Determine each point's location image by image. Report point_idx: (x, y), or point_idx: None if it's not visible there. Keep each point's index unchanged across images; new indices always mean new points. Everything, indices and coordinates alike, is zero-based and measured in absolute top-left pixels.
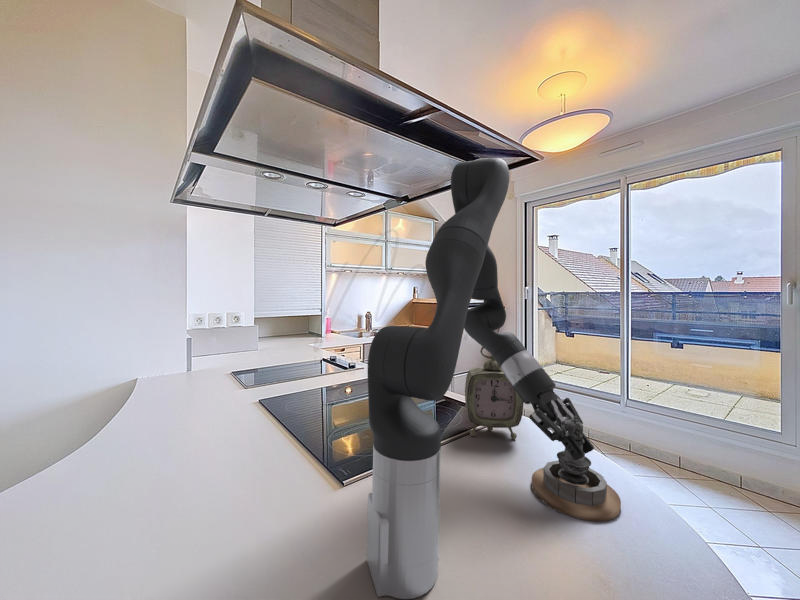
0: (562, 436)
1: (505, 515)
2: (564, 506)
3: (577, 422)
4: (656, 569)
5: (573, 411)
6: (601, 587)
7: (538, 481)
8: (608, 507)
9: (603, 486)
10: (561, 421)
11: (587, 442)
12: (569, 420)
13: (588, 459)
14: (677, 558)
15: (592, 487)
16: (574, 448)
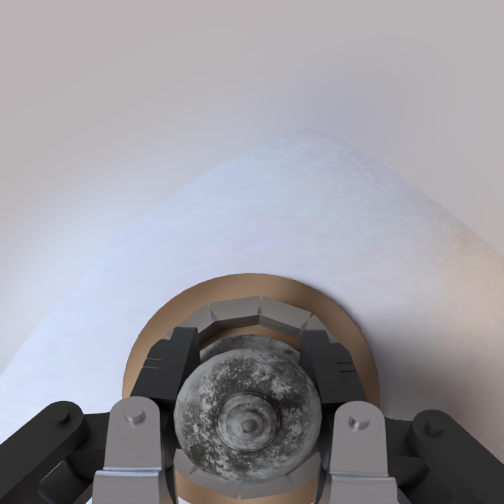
0: (408, 421)
1: (475, 436)
2: (375, 369)
3: (275, 384)
4: (368, 192)
5: (16, 481)
6: (473, 239)
7: (313, 482)
8: (274, 291)
9: (247, 301)
10: (393, 481)
11: (189, 351)
12: (269, 466)
13: (205, 355)
14: (306, 174)
15: (287, 323)
16: (353, 364)
